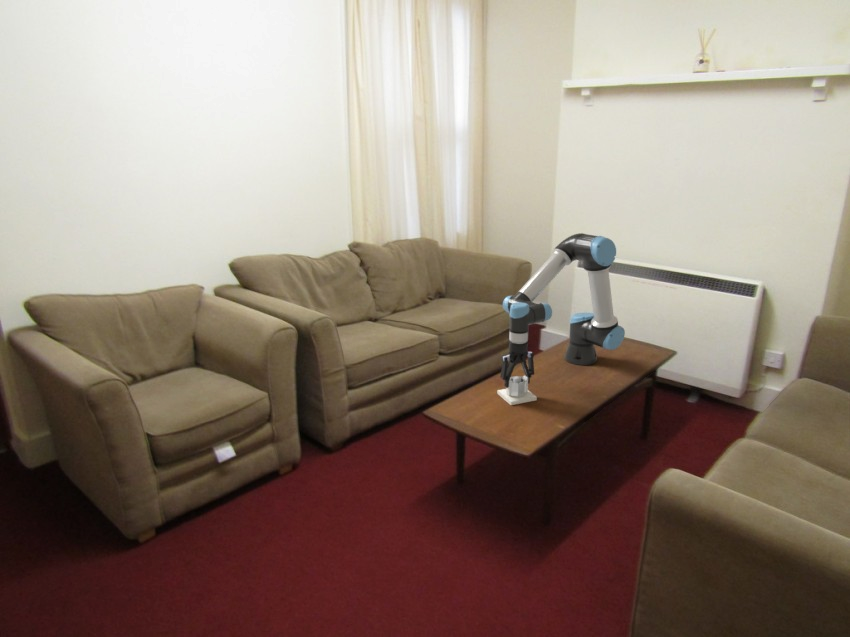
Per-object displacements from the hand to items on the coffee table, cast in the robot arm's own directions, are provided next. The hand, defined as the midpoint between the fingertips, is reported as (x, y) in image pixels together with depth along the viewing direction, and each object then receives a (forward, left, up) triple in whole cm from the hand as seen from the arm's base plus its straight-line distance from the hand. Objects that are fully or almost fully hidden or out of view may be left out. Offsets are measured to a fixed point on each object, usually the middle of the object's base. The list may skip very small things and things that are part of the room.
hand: (516, 392), depth 236 cm
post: (0, 0, -2) cm, 2 cm away
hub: (0, 0, 0) cm, 0 cm away
